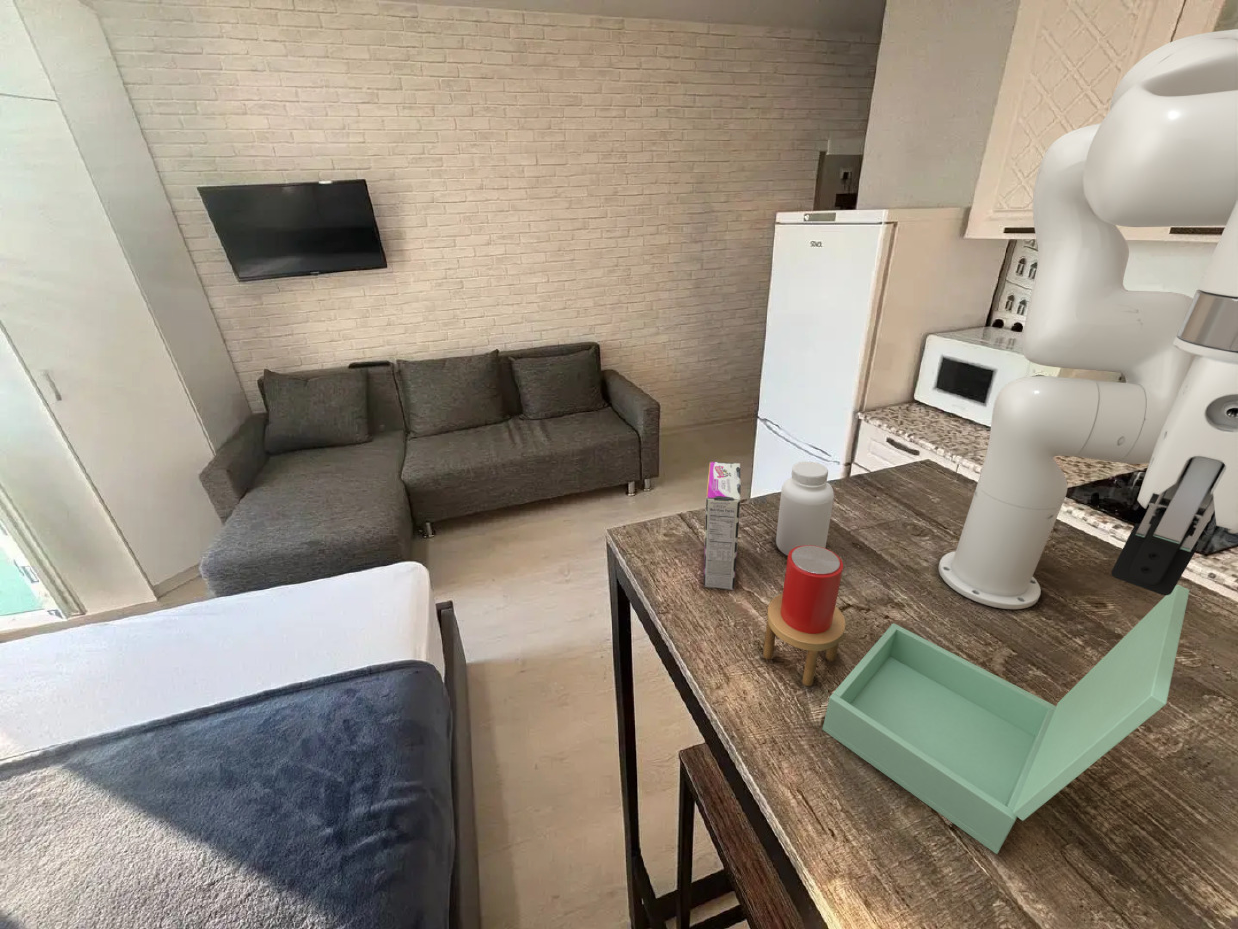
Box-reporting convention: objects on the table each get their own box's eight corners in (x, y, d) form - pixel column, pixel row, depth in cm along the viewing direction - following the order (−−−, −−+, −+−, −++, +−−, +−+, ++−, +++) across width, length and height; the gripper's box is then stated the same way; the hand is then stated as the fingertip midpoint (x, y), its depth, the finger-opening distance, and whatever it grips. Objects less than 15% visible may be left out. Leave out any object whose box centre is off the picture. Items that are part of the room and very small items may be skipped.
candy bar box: (705, 545, 87) (708, 460, 80) (734, 548, 86) (741, 462, 79) (701, 588, 78) (705, 496, 70) (734, 592, 77) (742, 498, 69)
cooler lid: (1150, 695, 33) (1166, 704, 32) (1177, 583, 42) (1190, 589, 41) (1012, 813, 43) (1022, 821, 42) (1057, 702, 52) (1067, 708, 51)
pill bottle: (768, 535, 89) (776, 459, 83) (812, 531, 90) (824, 455, 83) (785, 563, 82) (796, 482, 76) (833, 559, 83) (848, 478, 76)
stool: (787, 620, 71) (793, 581, 68) (849, 657, 65) (859, 616, 62) (748, 655, 66) (753, 614, 63) (812, 699, 60) (821, 656, 57)
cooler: (822, 729, 56) (829, 697, 54) (884, 653, 65) (893, 622, 63) (996, 855, 45) (1015, 820, 43) (1043, 742, 54) (1060, 708, 52)
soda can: (797, 592, 66) (805, 537, 62) (841, 616, 62) (853, 559, 58) (770, 615, 63) (777, 558, 59) (815, 642, 58) (826, 583, 55)
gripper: (1399, 367, 22) (1200, 666, 31) (1376, 317, 31) (1225, 562, 39) (1163, 341, 28) (1047, 602, 36) (1198, 304, 36) (1098, 522, 44)
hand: (1140, 581), depth 37 cm, fingers closed
